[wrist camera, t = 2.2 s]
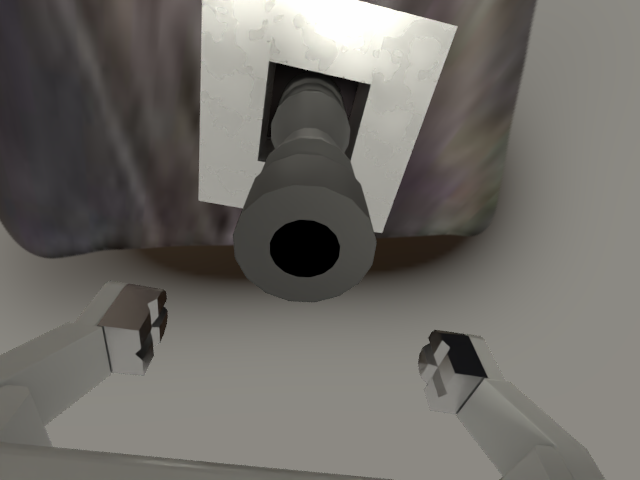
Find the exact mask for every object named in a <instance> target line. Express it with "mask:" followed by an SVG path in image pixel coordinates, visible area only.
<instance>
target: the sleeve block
mask: <svg viewBox="0 0 640 480" xmlns="http://www.w3.org/2000/svg"><path fill="white" fill-rule="evenodd" d="M457 27H458V26H454V25H450V24H446V23H443V22H439V21H435V20H431V19H427V18H423V17H419V16H416V15H412V14H408V13H404V12H400V11H396V10H392V9H388V8H385V7H381V6H377V5H373V4H369V3H365V2H361V1H358V0H202V38H201V93H200V147H199V201H204V202H210V203H215V204H221V205H227V206H232V207H238V208H243V207H244V204H245V201H246V199H247V196H248V194H249V191H250V189H251V187H252V184H253V182H254V180H255V178H256V177H257V176H258V175H259V174H260V173H261V171H262V169H263V166H264V164H265V162H266V159H267V157H268V155H269V154H270V153H271V152H272V151H273V150H275V148H274V145H273V143H272V140H271V137H267V133H268V125H269V117H270V109H271V101H272V94H273V86H274V78H275V70H276V63H280V64H284V65H288V66H293V67H297V68H301V69H306V70H310V71H314V72H319V73H323V74H327V75H332V76H336V77H340V78H345V79H349V80H354V81H358V82H359V83H358V87H357V91H356V95H355V99H354V103H353V107H352V111H351V115H350V119H349V126H350V137H349V145H348V147H347V149H346V151H345V152H344V154H345V155H346V156H347V157H348V158H349V159H350V161H351V164H352V168H353V171H354V174H355V178H356V179H357V180H358V181H359V183H360V184H361V186H362V190H363V193H364V197H365V200H366V203H367V207H368V211H369V215H370V219H371V223H372V226H373V230H374V232H379V233H382V232H383V229H384V226H385V224H386V221H387V218H388V215H389V213H390V210H391V207H392V204H393V202H394V199H395V196H396V194H397V191H398V188H399V185H400V183H401V180H402V177H403V174H404V172H405V169H406V166H407V163H408V161H409V158H410V155H411V152H412V150H413V147H414V144H415V142H416V139H417V136H418V133H419V131H420V128H421V125H422V122H423V120H424V117H425V114H426V111H427V109H428V106H429V103H430V101H431V98H432V95H433V92H434V90H435V87H436V84H437V81H438V79H439V76H440V73H441V70H442V68H443V65H444V62H445V59H446V57H447V54H448V51H449V49H450V46H451V43H452V40H453V38H454V35H455V32H456V29H457Z"/></svg>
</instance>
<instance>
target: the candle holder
mask: <svg viewBox="0 0 640 480" xmlns="http://www.w3.org/2000/svg"><path fill="white" fill-rule="evenodd" d="M349 137H350V126H349V122H348V119H347V115H346V112H345V107H344V103H343V100H342V96H341V93H340V89H339V88H338V86H337V85H336V84H335V83H334V81H333V80H332V79H331V78H329V77H327V76H326V75H324V74H322V73H319V72H305V73H302V74H300V75H297V76H295V77H294V78H293V79H292V80H291V81H290V82H289V83H288V84H287V85H286V87H285V90H284V92H283V94H282V97H281V99H280V102H279V104H278V108H277V111H276V113H275V116H274V118H273V120H272V123H271V140H272V143H273V145H274V148H275V150H273V151H272V152H271V153H270V154H269V155H268V157H267V159H266V162H265V164H264V166H263V169H262V171H261V173H260V174H259V175H258V176H257V177H256V178H255V180H254V182H253V184H252V187H251V189H250V191H249V194H248V196H247V199H246V201H245V204H244V207H243V209H242V212H241V215H240V217H239V220H238V223H237V226H236V228H235V231H234V234H233V240H234V251H235V259H236V260H237V262H238V264H239V266H240V267H241V269H242V271H243V272H244V274H245V275H246V277H247V278H248V279H249V280H250V281H251V282H253V283H254V284H255V285H256V286H258V287H259V288H261V289H262V290H263V291H264V292H265V293H268V294H271V295H273V296H276V297H279V298H282V299H285V300H288V301H299V302H318V301H321V300H325V299H329V298H333V297H337V296H340V295H341V294H343V293H344V292H346V291H347V290H349V289H351V288H352V287H354V286H355V285H357V284H358V283H359V282H360V281H361V279H362V278H363V277H364V275H365V274H366V273H367V271H368V270H369V269H370V267H371V266H372V264H373V258H374V253H375V248H376V243H377V242H376V238H375V234H374V230H373V226H372V223H371V219H370V215H369V211H368V207H367V203H366V200H365V197H364V193H363V190H362V186H361V184H360V183H359V181H358V180H357V179H356V178H355V174H354V171H353V168H352V164H351V161H350V159H349V158H348V157H347V156H346V155H345V154H344V152H345V151H346V149H347V147H348V145H349Z"/></svg>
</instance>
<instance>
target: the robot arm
mask: <svg viewBox="0 0 640 480" xmlns="http://www.w3.org/2000/svg"><path fill="white" fill-rule="evenodd" d="M166 300H167V293H166V291H165V290H164V289H158V288H152V287H146V286H140V285H135V284H126V283H121V282H115V281H109V282H107V283H106V284H104V286H103V287H102V288H101V289H100V291H99V292H98V293H97V294H96V296H95V297H94V298H93V299H92V301H91V302H90V303H89V305H88V306H87V307H86V308H85V309H84V311H83V312H82V313H81V314H80V316H79V317H78V318H77V319H76V321H75V322H74V323H70V322H68V323H65V324H63V325H61V326H59V327H57V328H55V329H53V330H51V331H49V332H47V333H45V334H43V335H41V336H39V337H37V338H35V339H33V340H30V341H28V342H26V343H24V344H22V345H20V346H18V347H16V348H14V349H12V350H10V351H8V352H6V353H4V354H2V355H0V480H392V479H381V478H372V477H361V476H351V475H340V474H329V473H319V472H308V471H298V470H288V469H277V468H267V467H256V466H246V465H235V464H224V463H214V462H204V461H193V460H183V459H172V458H162V457H151V456H141V455H130V454H119V453H110V452H99V451H88V450H78V449H67V448H57V447H53V446H52V443H51V441H50V438H49V436H48V433H47V431H46V429H45V425H47V424H48V423H49V422H51V421H52V420H53V419H54V418H56V417H57V416H58V415H59V414H61V413H62V412H63V411H65V410H66V409H67V408H69V407H70V406H71V405H72V404H74V403H75V402H76V401H78V400H79V399H80V398H81V397H83V396H84V395H85V394H87V393H88V392H89V391H91V390H92V389H93V388H94V387H96V386H97V385H98V384H99V383H101V382H102V381H103V380H105V379H106V378H107V377H109V376H110V375H111V373H119V374H130V375H141V376H144V375H145V373H146V371H147V369H148V366H149V364H150V362H151V360H152V358H153V356H154V350H153V347H154V346H156V345H157V344H159V343H160V342H161V340H162V337H163V335H164V332H165V329H166V325H167V319H168V311H167V309H166V308H165V307H164V305H165V302H166ZM428 339H429V341H430V343H429V344H428V345H426V346H424V347H423V348H422V350H421V352H420V354H419V361H418V367H419V373H420V376H421V378H422V379H423V380H424V381H425V382H426V383H427V386H426V388H425V390H424V391H425V394H426V398H427V401H428V405H429V408H430V410H431V411H438V412H444V413H451V414H457V415H456V416H457V417H458V419H459V420H460V421H461V423H462V424H463V425H464V427H465V428H466V429H467V430H468V432H469V433H470V434H471V436H472V437H473V438H474V439H475V441H476V442H477V443H478V445H479V446H480V447H481V449H482V450H483V451H484V452H485V454H486V455H487V456H488V458H489V459H490V460H491V462H492V463H493V464H494V465H495V467H496V468H497V469H498V471H499V472H500V473H501V474H502V476H503V477H502V478H501V479H499V480H605V478H604V477H603V475H602V473H601V472H600V470H599V468H598V467H597V465H596V463H595V462H594V460H593V458H592V457H591V455H590V454H589V452H588V450H587V449H586V448H585V447H584V446H583V445H582V444H580V443H579V442H578V441H577V440H576V439H575V438H574V437H572V436H571V435H570V434H569V433H568V432H567V431H565V430H564V429H563V428H562V427H561V426H560V425H559V424H558V423H556V422H555V421H554V420H553V419H552V418H551V417H550V416H549V415H547V414H546V413H545V412H544V411H543V410H542V409H541V408H539V407H538V406H537V405H536V404H535V403H534V402H533V401H531V400H530V399H529V398H528V397H527V396H526V395H525V394H524V393H522V392H521V391H520V390H519V389H518V388H517V387H516V386H515V385H513V384H512V383H511V382H508V381H505V379H504V377H503V375H502V373H501V371H500V369H499V367H498V365H497V363H496V361H495V359H494V357H493V355H492V353H491V351H490V349H489V347H488V345H487V344H486V342H485V340H484V339H483V338H482V337H481V336H477V335H470V334H462V333H454V332H448V331H440V330H434V331H432V332H431V334H430V336H429V337H428Z"/></svg>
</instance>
